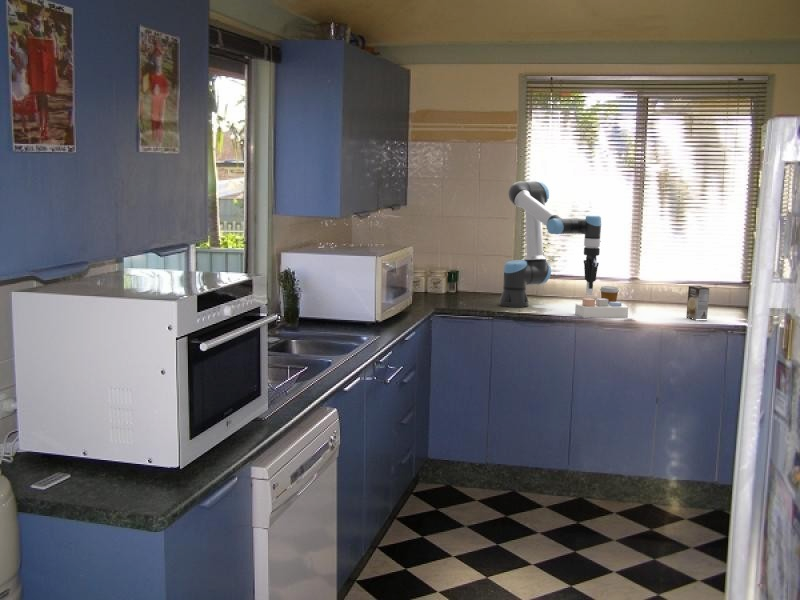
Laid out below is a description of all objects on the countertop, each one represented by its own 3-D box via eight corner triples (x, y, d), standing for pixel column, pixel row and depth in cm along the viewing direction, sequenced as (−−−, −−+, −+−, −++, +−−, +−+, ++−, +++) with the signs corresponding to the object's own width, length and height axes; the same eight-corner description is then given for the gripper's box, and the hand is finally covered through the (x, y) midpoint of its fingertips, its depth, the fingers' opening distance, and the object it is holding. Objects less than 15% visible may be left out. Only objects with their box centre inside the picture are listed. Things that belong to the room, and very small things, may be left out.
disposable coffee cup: (618, 312, 465) (619, 289, 463) (598, 311, 467) (600, 288, 465) (617, 309, 474) (618, 286, 473) (598, 308, 476) (600, 285, 474)
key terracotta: (582, 310, 453) (582, 298, 452) (590, 310, 454) (591, 298, 453) (585, 311, 448) (586, 299, 448) (594, 311, 449) (595, 299, 449)
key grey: (595, 310, 454) (595, 298, 453) (603, 310, 455) (604, 298, 454) (599, 311, 450) (599, 299, 449) (607, 311, 451) (608, 299, 450)
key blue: (608, 313, 456) (608, 301, 455) (616, 313, 457) (617, 301, 456) (612, 315, 452) (612, 303, 451) (620, 314, 452) (621, 302, 452)
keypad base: (575, 313, 456) (575, 304, 455) (617, 313, 461) (618, 303, 460) (583, 317, 445) (584, 307, 444) (627, 317, 450) (628, 307, 449)
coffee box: (685, 317, 454) (687, 285, 452) (696, 317, 456) (699, 285, 453) (696, 320, 445) (698, 288, 443) (707, 320, 447) (710, 288, 445)
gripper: (604, 248, 441) (601, 296, 444) (593, 246, 454) (591, 293, 457) (590, 248, 440) (587, 296, 443) (579, 246, 452) (576, 293, 455)
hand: (589, 294), depth 450 cm, fingers closed
